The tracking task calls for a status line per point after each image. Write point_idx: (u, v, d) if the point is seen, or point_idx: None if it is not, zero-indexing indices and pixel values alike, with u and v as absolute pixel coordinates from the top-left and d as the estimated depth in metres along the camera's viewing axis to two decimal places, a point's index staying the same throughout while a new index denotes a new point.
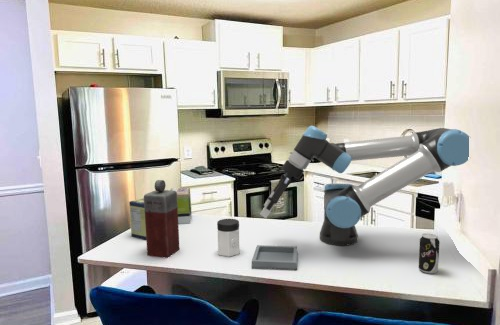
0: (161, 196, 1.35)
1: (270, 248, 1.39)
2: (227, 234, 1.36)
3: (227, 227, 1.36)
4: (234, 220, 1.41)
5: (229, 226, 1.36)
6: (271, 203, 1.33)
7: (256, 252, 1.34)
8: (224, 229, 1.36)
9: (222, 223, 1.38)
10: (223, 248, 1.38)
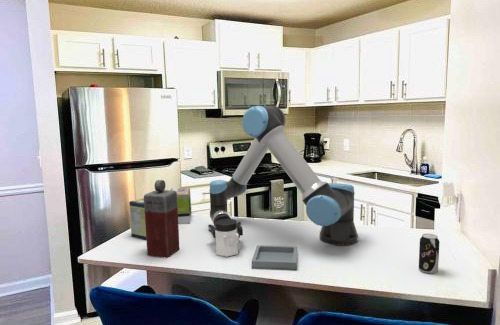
0: (161, 196, 1.35)
1: (270, 248, 1.39)
2: (224, 234, 1.36)
3: (224, 227, 1.36)
4: (232, 220, 1.41)
5: (226, 226, 1.36)
6: None
7: (256, 252, 1.34)
8: (220, 229, 1.36)
9: (219, 223, 1.38)
10: (221, 248, 1.38)
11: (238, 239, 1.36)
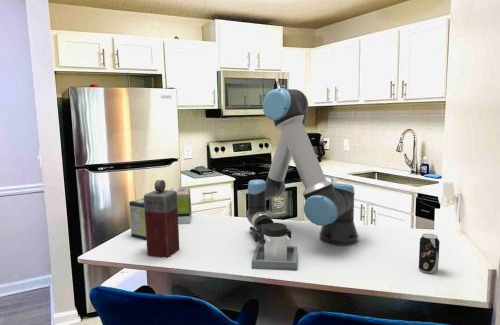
0: (161, 196, 1.35)
1: None
2: (274, 240, 1.28)
3: (274, 232, 1.27)
4: (281, 225, 1.32)
5: (276, 231, 1.27)
6: (260, 239, 1.32)
7: (256, 252, 1.34)
8: (271, 234, 1.28)
9: (269, 228, 1.29)
10: (270, 254, 1.29)
11: (289, 243, 1.28)
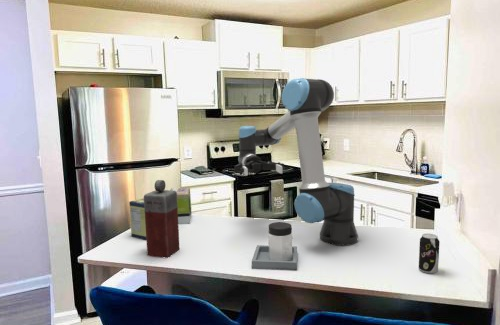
0: (161, 196, 1.35)
1: None
2: (280, 239, 1.28)
3: (280, 231, 1.28)
4: (286, 224, 1.34)
5: (282, 230, 1.28)
6: (239, 169, 1.47)
7: (256, 252, 1.34)
8: (277, 233, 1.29)
9: (274, 227, 1.30)
10: (275, 253, 1.30)
11: None
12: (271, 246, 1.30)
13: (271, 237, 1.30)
